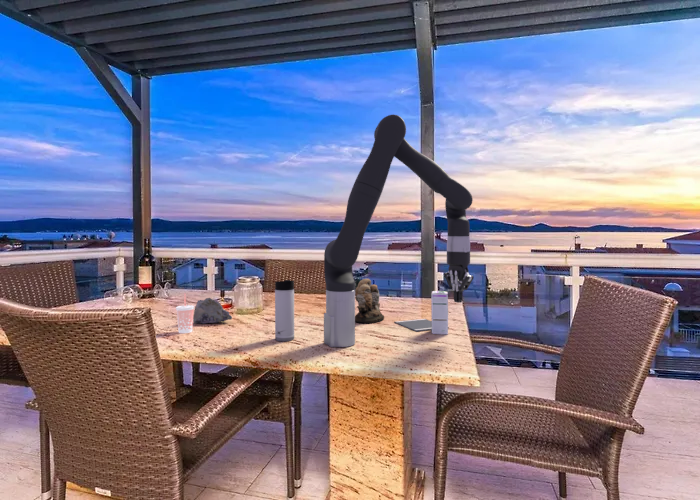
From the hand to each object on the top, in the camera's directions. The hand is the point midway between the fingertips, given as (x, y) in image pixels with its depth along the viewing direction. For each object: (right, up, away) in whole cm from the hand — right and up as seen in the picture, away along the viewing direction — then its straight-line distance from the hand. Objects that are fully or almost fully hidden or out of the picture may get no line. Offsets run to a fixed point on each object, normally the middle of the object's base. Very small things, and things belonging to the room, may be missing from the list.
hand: (458, 302), depth 137 cm
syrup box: (-4, -12, +10) cm, 16 cm away
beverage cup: (-95, -12, +10) cm, 96 cm away
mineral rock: (-90, -12, +24) cm, 94 cm away
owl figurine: (-28, -11, +31) cm, 43 cm away
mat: (-9, -12, +21) cm, 25 cm away
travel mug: (-58, -13, 0) cm, 59 cm away
